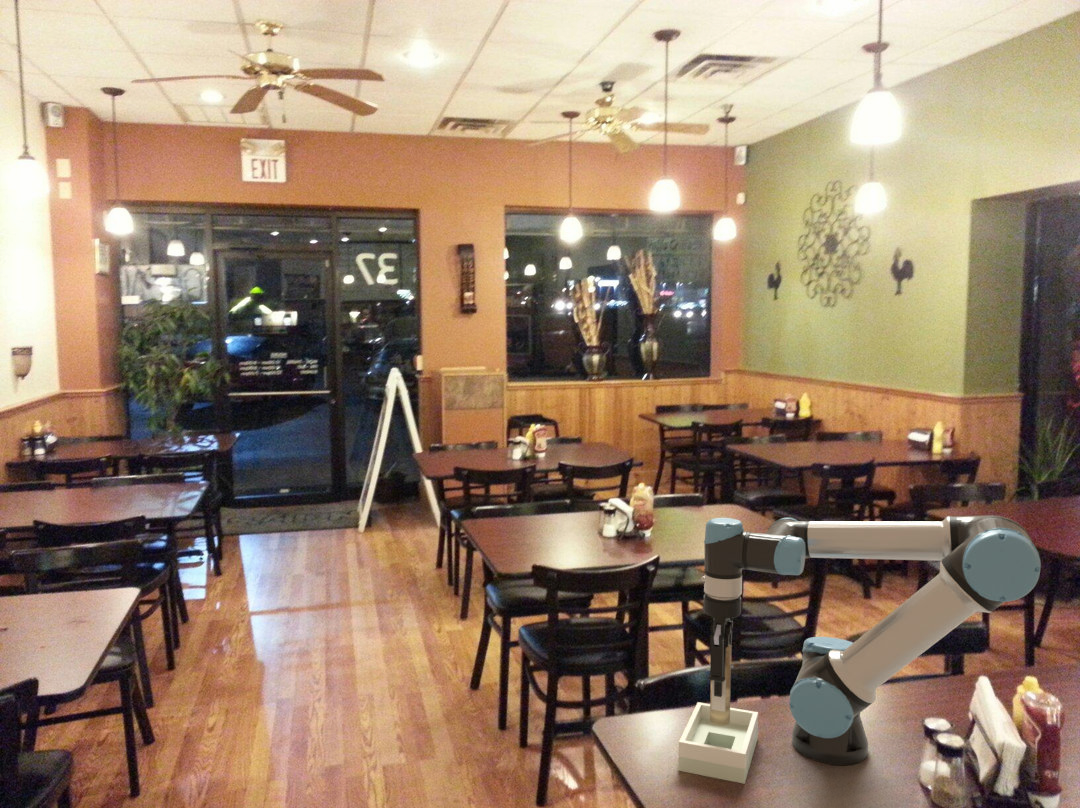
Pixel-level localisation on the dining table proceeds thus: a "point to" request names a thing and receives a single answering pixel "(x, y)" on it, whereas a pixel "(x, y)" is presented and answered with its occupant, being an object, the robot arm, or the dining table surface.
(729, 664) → the peg
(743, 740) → the bore tray
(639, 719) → the dining table surface
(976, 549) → the robot arm
